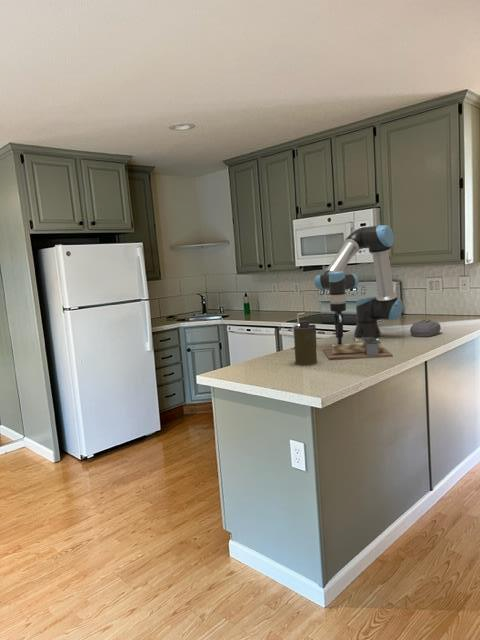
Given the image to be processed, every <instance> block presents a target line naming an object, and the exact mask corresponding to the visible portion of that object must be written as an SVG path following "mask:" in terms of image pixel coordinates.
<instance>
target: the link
mask: <svg viewBox="0 0 480 640" xmlns="http://www.w3.org/2000/svg"><path fill="white" fill-rule="evenodd" d="M331 348H332V353H333V354H336V353H357V352H365V343H364V342H360V343H359V342H357V343H343V344H337V343H335V344H331ZM383 348H384V342H382V341H381V342H380V343H378V352H382V351H383Z"/></svg>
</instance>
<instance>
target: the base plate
mask: <svg viewBox="0 0 480 640" xmlns="http://www.w3.org/2000/svg"><path fill="white" fill-rule="evenodd" d="M322 352H323V353H324V355H325V356H326V358H327V359H328V361H339V360H355V359H372V358H373V359H374V358H375V359H376V358H393V357H394V356H393V354H392V352H390V351H388V350H387V349H386V348H385V347H383V351H382V352H379V355H372V356H367V355H366V354H365V352H357V353H336V354H333V353H332V347H328V348H322Z"/></svg>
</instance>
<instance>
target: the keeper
mask: <svg viewBox="0 0 480 640" xmlns="http://www.w3.org/2000/svg"><path fill="white" fill-rule="evenodd" d="M360 339H361V341H362V343H365V354H366V355H367V356H372V355H379V352H378V340H377V339H378V338H374V337H361V338H360Z"/></svg>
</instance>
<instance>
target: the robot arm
mask: <svg viewBox="0 0 480 640" xmlns="http://www.w3.org/2000/svg"><path fill="white" fill-rule="evenodd" d="M394 235H395V234H394V233H393V229H391V227H390V226H388V225H383V224H382V225H380V224H379V225H373V226H372V225H371V226H364V227H363V226H362V227H359V228H356V229H355V230H354V231H353V232H351V233H350V234H349V235H348V236H347V237H346V238H345V239H344V241H343V243H342V247H341V248H340V250H339V251H338V252H337V254H336V255H335V257H334V258H333V260H332V261H331V263H329V265H328V266H327V268H326V270H325V271H324V273H323V274H318V275H316V276H315V278H314V286H315V288H317V289H318V290H329V296H328V299H329V302H330V306H329V307H330V312H333V313H334V314H333V318H334V319H333V320H334V328H335V329H334V331H335V338H336V344H344V342H343V337H344V314H342V312H346V310H347V305H346V301H347V300H346V299H347V298H346V297H347V296H346V290H352V289H355V288H356V287H357V286H358V285H359V282H360V281H359V278H358V276H357V275H356V274H354V273H347V274H345V272H344V269H345V268H346V266H348V264H349V262H350V261H351V259H352V258H353V256H354V255H355V254H357V253H358V252H359V251H360V250H362V249H368V252H369V254H371V256H372V260H373V268H374V273H375V274H374V275H375V280H376V288H377V296H371V297H370V296H369V297H363V298H358V299H357V300H356V306H355V308H356V310H355V311H356V312H355V313H356V326H355V329H354V333H353V334H354V337H355V338H357V339H361V337H374V338H375V339H378V338H380V337H382V335H381V334H382V333H381V331H380V327H379V324H378V320H386V321H396V320H398V319H400V318H401V316H402V314H403V309H404V304H403V300H402V299H398V295H397V294H396V293H395V290H394V282H393V277H392V269H391V261H390V254H389V253H390V251H391V250H392V246H393V245H394V242H395V241H394V240H395V236H394Z"/></svg>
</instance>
